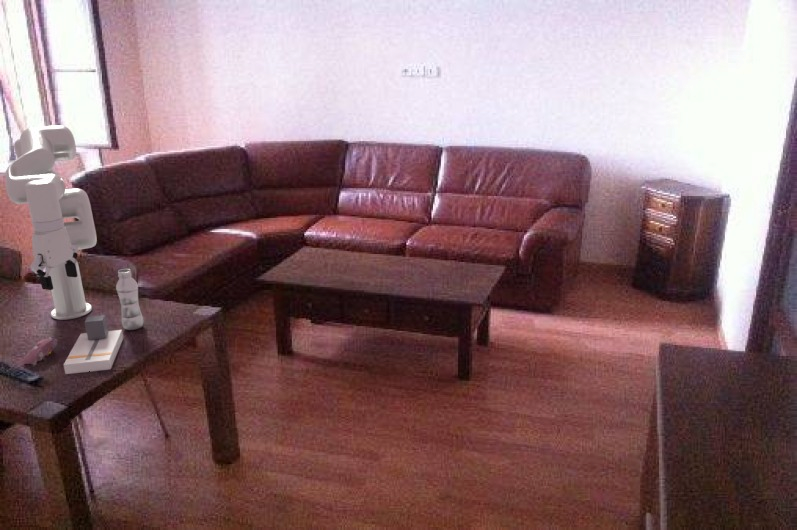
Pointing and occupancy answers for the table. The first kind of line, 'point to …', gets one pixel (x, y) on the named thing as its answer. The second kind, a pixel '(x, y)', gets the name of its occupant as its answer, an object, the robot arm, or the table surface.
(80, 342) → the fader console
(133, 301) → the plastic bottle
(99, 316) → the fader tab
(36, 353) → the pink toy car
